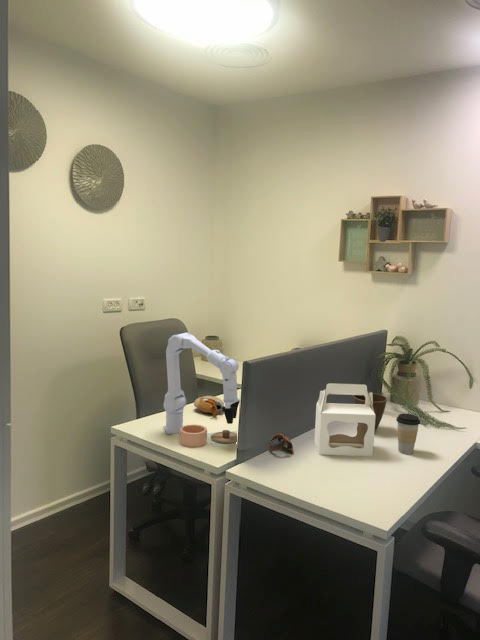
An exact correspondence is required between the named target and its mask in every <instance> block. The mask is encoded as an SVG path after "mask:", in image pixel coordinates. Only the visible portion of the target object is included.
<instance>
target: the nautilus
mask: <svg viewBox="0 0 480 640" xmlns="http://www.w3.org/2000/svg"><path fill="white" fill-rule="evenodd" d="M193 406H194V407H195V408H196V409H198V410H200V411H201V412H202V413H205V414H206V413H210V414H211V415H212V417H213V418H215V419H217V418H218V417H217V416H218V414H221V412H223V410H222V407H223V406H225V403H224V401H223V400H222V399H221V398H220V397H219V396H212V395H204V396H201V397H200V396H199V397H198V398H196V399H195V400H194V401H193ZM212 417H211V418H210V420H211V419H212Z"/></svg>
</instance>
